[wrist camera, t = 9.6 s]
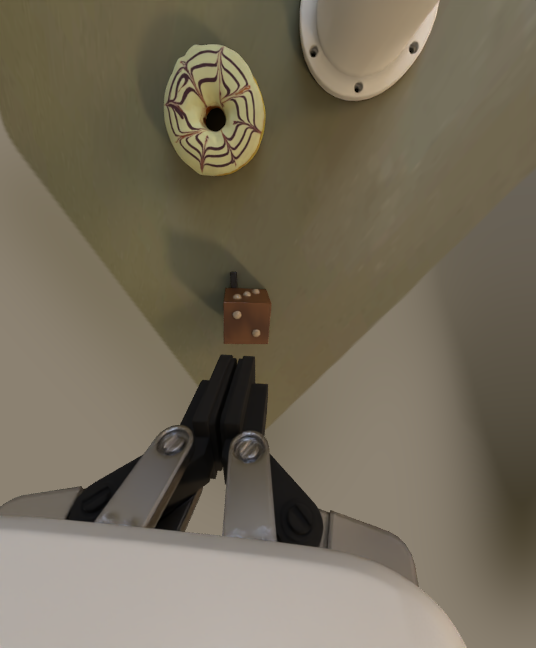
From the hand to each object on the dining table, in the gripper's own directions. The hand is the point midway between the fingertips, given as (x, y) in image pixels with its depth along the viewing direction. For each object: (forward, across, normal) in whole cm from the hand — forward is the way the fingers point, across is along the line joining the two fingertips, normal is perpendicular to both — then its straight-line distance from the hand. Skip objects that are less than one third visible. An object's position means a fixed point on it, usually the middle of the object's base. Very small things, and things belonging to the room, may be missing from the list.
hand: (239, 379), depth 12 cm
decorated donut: (+25, +6, -16) cm, 30 cm away
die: (+20, +6, +6) cm, 22 cm away
